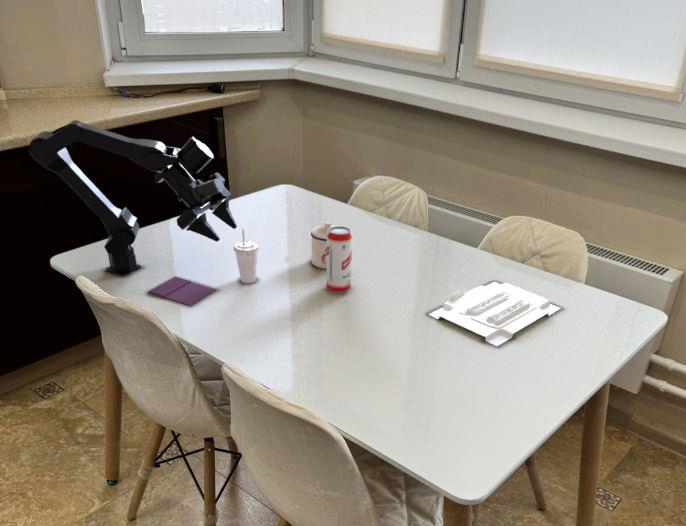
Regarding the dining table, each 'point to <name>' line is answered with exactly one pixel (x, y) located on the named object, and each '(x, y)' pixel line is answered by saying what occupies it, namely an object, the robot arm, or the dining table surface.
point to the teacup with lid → (320, 245)
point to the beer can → (339, 259)
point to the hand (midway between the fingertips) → (227, 234)
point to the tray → (495, 310)
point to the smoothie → (246, 259)
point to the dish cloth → (182, 291)
